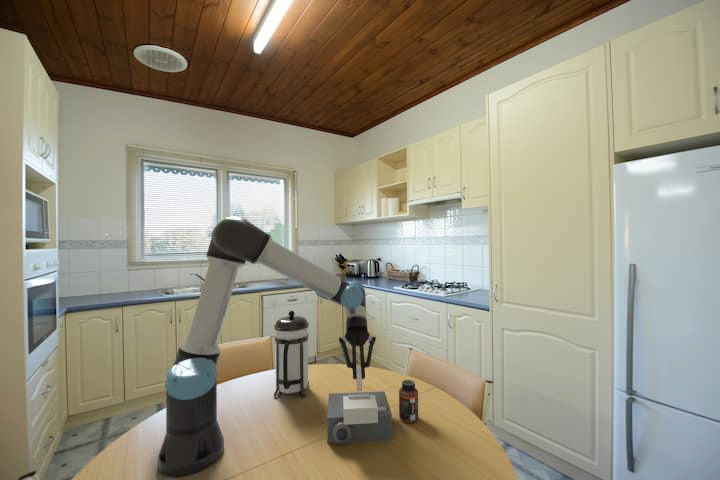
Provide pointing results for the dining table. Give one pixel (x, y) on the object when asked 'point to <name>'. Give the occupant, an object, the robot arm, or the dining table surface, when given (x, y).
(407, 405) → the supplement bottle
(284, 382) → the coffee press
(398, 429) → the dining table surface
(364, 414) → the hatch door
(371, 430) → the gray box
